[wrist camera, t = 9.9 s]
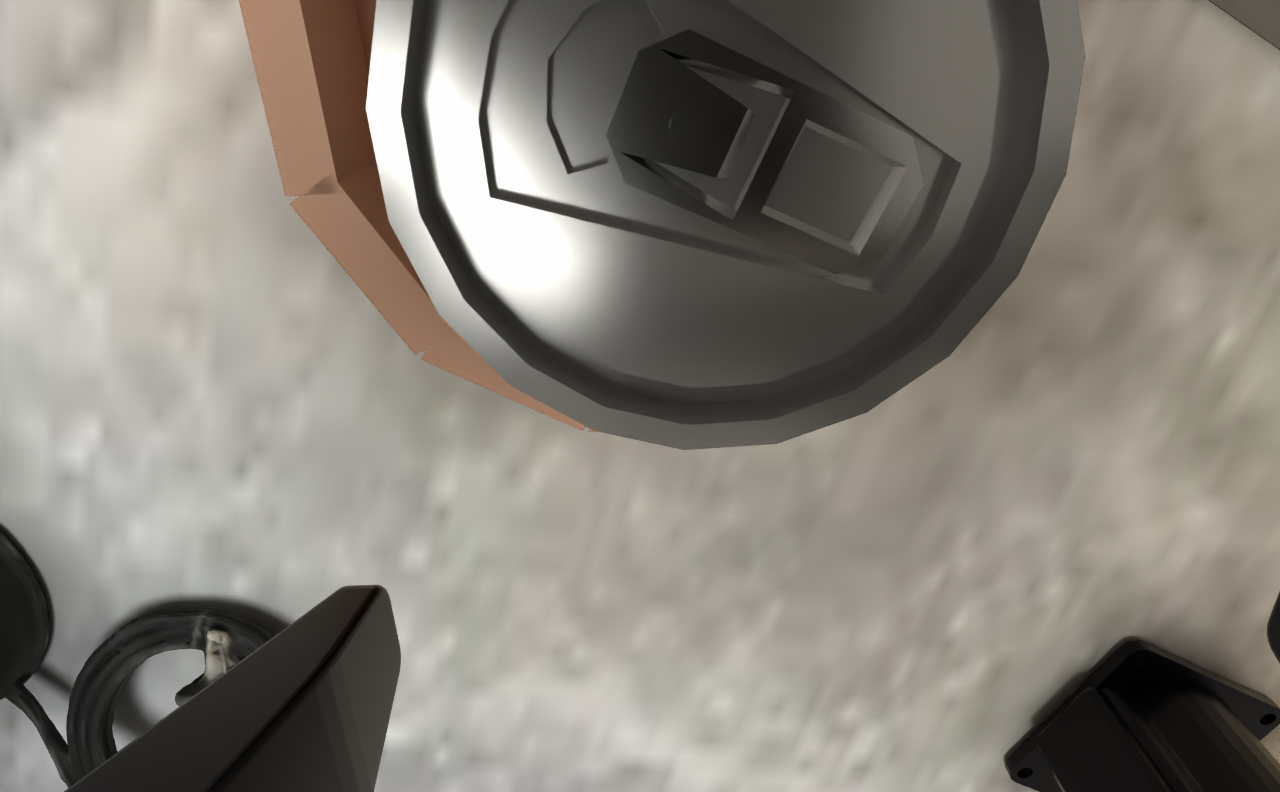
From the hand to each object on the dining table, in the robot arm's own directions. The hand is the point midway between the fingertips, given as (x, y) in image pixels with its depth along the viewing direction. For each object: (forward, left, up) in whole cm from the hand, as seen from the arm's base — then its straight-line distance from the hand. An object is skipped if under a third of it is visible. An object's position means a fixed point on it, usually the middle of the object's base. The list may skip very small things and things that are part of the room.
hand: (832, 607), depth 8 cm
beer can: (+3, -3, -12) cm, 13 cm away
